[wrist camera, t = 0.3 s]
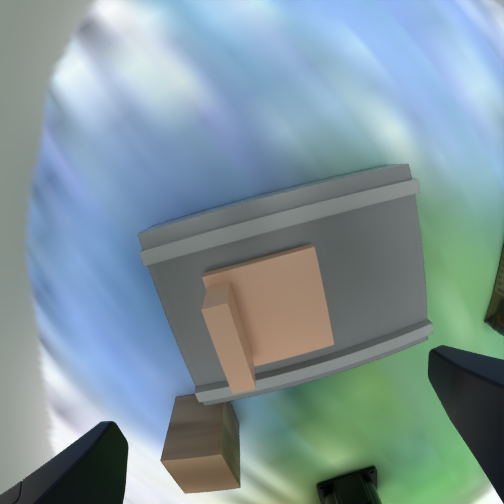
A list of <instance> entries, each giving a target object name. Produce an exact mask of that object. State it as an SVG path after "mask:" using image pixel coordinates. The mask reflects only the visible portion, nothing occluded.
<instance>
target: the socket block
mask: <svg viewBox="0 0 504 504" xmlns="http://www.w3.org/2000/svg"><path fill="white" fill-rule="evenodd" d="M416 193H420V190H419V184H418V179H412V178H411V173H410V168H409V164H394V165H384V166H380V167H375V168H370V169H366V170H361V171H357V172H352V173H348V174H343V175H339V176H335V177H331V178H326V179H322V180H318V181H314V182H310V183H306V184H302V185H298V186H294V187H290V188H286V189H282V190H278V191H274V192H270V193H266V194H262V195H259V196H255V197H251V198H248V199H244V200H240V201H237V202H233V203H229V204H226V205H222V206H219V207H215V208H212V209H208V210H205V211H201V212H198V213H194V214H191V215H187V216H184V217H181V218H177V219H174V220H171V221H167V222H164V223H161V224H158V225H154V226H151V227H150V228H148V229H146V230H144V231H143V232H141V233H139V234H138V237H139V240H140V243H141V246H142V249H143V250H142V251H140V252H139V254H140V257H141V260H142V263H143V266H147V265H148V267H149V270H150V273H151V276H152V279H153V282H154V284H155V287H156V290H157V293H158V295H159V298H160V301H161V303H162V306H163V309H164V311H165V314H166V317H167V319H168V322H169V324H170V327H171V329H172V332H173V334H174V337H175V339H176V342H177V344H178V347H179V349H180V352H181V354H182V356H183V359H184V361H185V363H186V366H187V368H188V370H189V373H190V375H191V377H192V379H193V382H194V384H195V386H196V389H195V395H196V397H197V399H198V401H199V402H203V404H204V406H206V405H211V404H217V403H222V402H227V401H232V400H237V399H242V398H246V397H251V396H255V395H260V394H264V393H268V392H272V391H276V390H280V389H284V388H288V387H292V386H295V385H299V384H303V383H306V382H310V381H313V380H317V379H320V378H323V377H327V376H330V375H333V374H336V373H340V372H343V371H346V370H349V369H352V368H355V367H358V366H361V365H364V364H367V363H369V362H372V361H375V360H378V359H380V358H383V357H386V356H389V355H391V354H394V353H396V352H399V351H401V350H404V349H407V348H409V347H411V346H414V345H416V344H419V343H421V342H424V341H426V340H428V335H430V334H432V333H433V326H432V322H430V321H429V320H428V319H427V298H426V282H425V269H424V259H423V249H422V241H421V233H420V225H419V219H418V212H417V206H416V200H415V194H416ZM308 244H312V245H313V246H314V247H315V251H316V255H317V260H318V264H319V269H320V274H321V279H322V283H323V288H324V293H325V298H326V303H327V308H328V313H329V319H330V324H331V329H332V335H333V340H334V345H331V346H328V347H325V348H322V349H318V350H315V351H311V352H308V353H304V354H301V355H297V356H294V357H290V358H286V359H283V360H279V361H275V362H271V363H267V364H263V365H259V366H255V367H254V371H255V382H256V389H253V390H249V391H244V392H240V393H235V394H232V391H231V389H230V386H229V384H228V381H227V378H226V376H225V373H224V371H223V368H222V365H221V363H220V360H219V358H218V355H217V352H216V350H215V347H214V344H213V341H212V339H211V336H210V333H209V330H208V328H207V325H206V322H205V319H204V316H203V314H202V311H201V309H202V305H203V301H204V298H205V294H206V288H205V285H204V282H203V279H202V276H203V273H205V272H209V271H212V270H216V269H220V268H224V267H227V266H231V265H235V264H239V263H242V262H246V261H250V260H253V259H257V258H261V257H264V256H268V255H272V254H275V253H279V252H283V251H287V250H290V249H294V248H298V247H301V246H305V245H308Z"/></svg>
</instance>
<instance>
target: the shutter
mask: <svg viewBox="0 0 504 504" xmlns="http://www.w3.org/2000/svg"><path fill="white" fill-rule="evenodd" d="M202 279H203V282H204V285H205V288H206V294H205V298H204V301H203V305H202V309H201V311H202V314H203V316H204V319H205V322H206V325H207V328H208V330H209V333H210V336H211V339H212V341H213V344H214V347H215V350H216V352H217V355H218V358H219V360H220V363H221V365H222V368H223V371H224V373H225V376H226V378H227V381H228V384H229V386H230V389H231V391H232V394H235V393H240V392H244V391H249V390H253V389H256V382H255V371H254V367H255V366H259V365H263V364H267V363H271V362H275V361H279V360H283V359H286V358H290V357H294V356H297V355H301V354H304V353H308V352H311V351H315V350H318V349H322V348H325V347H328V346H331V345H334V340H333V335H332V329H331V324H330V319H329V313H328V308H327V303H326V298H325V293H324V288H323V283H322V279H321V274H320V269H319V264H318V260H317V255H316V251H315V247H314V246H313V245H312V244H308V245H305V246H301V247H298V248H294V249H290V250H287V251H283V252H279V253H275V254H272V255H268V256H264V257H261V258H257V259H253V260H250V261H246V262H242V263H239V264H235V265H231V266H227V267H224V268H220V269H216V270H212V271H209V272H205V273H203V276H202Z"/></svg>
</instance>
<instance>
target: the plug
mask: <svg viewBox="0 0 504 504" xmlns="http://www.w3.org/2000/svg"><path fill="white" fill-rule="evenodd" d="M160 461H161V462H162V464H163V465H164V466H165V468H166V469H167V471H168V472H169V473H170V475H171V476H172V477H173V479H174V480H175V481H176V483H177V484H178V485H179V487H180V488H181V489H182V490H183V492H184V493H200V492H211V491H220V490H229V489H236V488H240V440H239V422H238V419H237V417H236V415H235V412H234V410H233V407H232V405H231V403H230V401H227V402H222V403H217V404H211V405H206V406H204V404H203V402H199V401H198V399H197V397H196V395H195V394H190V395H184V396H178V397H176V399H175V403H174V407H173V411H172V415H171V419H170V423H169V427H168V431H167V435H166V439H165V444H164V448H163V452H162V456H161V460H160Z"/></svg>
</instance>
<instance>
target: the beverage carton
mask: <svg viewBox="0 0 504 504" xmlns="http://www.w3.org/2000/svg"><path fill="white" fill-rule="evenodd" d="M484 322H485V323H487V324H488V325H490V326H491V327H492V328H493V330H495V331H497V332H498V333H499V334H501V335H503V336H504V246H503V251H502V256H501V260H500V264H499V269H498V273H497V277H496V281H495V285H494V289H493V293H492V297H491V301H490V304H489V307H488V311H487V314H486V317H485V320H484Z"/></svg>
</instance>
